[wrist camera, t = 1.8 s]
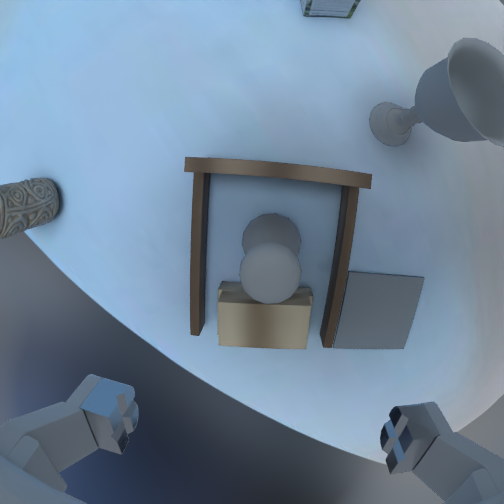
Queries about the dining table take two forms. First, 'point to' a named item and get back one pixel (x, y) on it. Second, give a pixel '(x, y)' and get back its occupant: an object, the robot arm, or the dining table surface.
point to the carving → (26, 205)
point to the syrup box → (329, 7)
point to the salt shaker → (270, 259)
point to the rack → (277, 170)
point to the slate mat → (377, 311)
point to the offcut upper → (263, 321)
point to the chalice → (452, 98)
